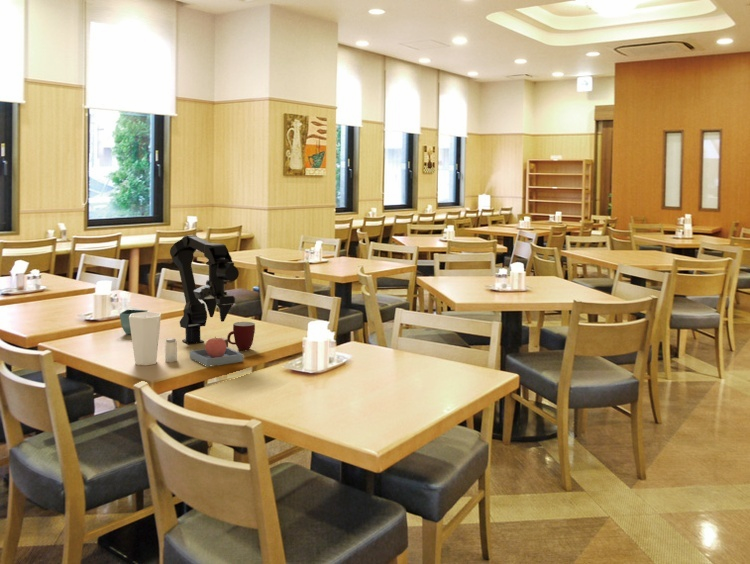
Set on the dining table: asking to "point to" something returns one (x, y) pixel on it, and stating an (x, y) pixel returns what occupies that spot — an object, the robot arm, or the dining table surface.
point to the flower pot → (125, 319)
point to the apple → (215, 347)
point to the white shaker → (170, 350)
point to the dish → (227, 358)
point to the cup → (145, 336)
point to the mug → (242, 335)
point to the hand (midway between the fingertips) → (216, 319)
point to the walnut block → (225, 341)
